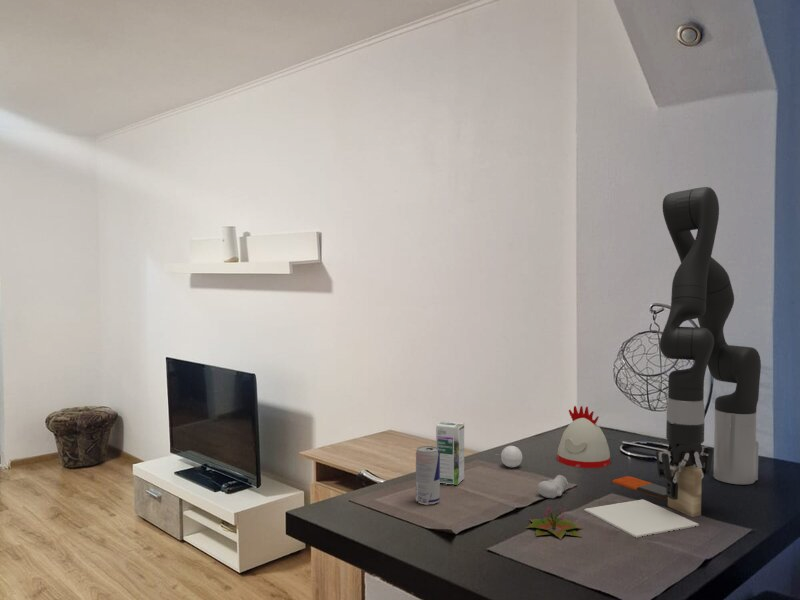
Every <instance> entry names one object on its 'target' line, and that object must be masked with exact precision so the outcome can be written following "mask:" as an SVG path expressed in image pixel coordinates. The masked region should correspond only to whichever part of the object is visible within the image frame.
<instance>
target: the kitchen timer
mask: <svg viewBox="0 0 800 600" xmlns="http://www.w3.org/2000/svg"><path fill="white" fill-rule="evenodd" d="M568 413H569V415H570V418H571V420H572V421H571V422H570V423H569V424H568V426H567V427H566V428H565V430H563V431H562V436H561V439H560V442H559V445H558V449H557V461H558V462H559V463H561V464H562V465H566V466H570V467H575V468H581V469H582V468H583V469H596V468H597V469H598V468H604V467H607V466H609V465H610V464H611V452H610V448H609V444H608V441H607V438H606V436H605V434H604V432H603V430H602V429H601V427H600V426H599V425H598V424H597V422H598V419H599V417H600V416H598V415H597V416H596V417H595V419H593V416H594V411H591V412H590V413H589V406H586V407H585V409H584V407H583V405H580V407H579V411H578V409H577V405H574V406H573V410H571V409H568Z"/></svg>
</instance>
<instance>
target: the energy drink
mask: <svg viewBox="0 0 800 600" xmlns="http://www.w3.org/2000/svg"><path fill="white" fill-rule="evenodd" d="M440 487H441V484H440V452H439V448H437V447H436V446H433V445H431V446H430V445H423V446H419V447H417V448H416V450H415V502H417V501H418V502H421V503H428V504H430V503H437V502H438V503H439V502H440V499H441V498H440V497H441V494H440V493H441V488H440ZM438 503H437V504H438Z"/></svg>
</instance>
